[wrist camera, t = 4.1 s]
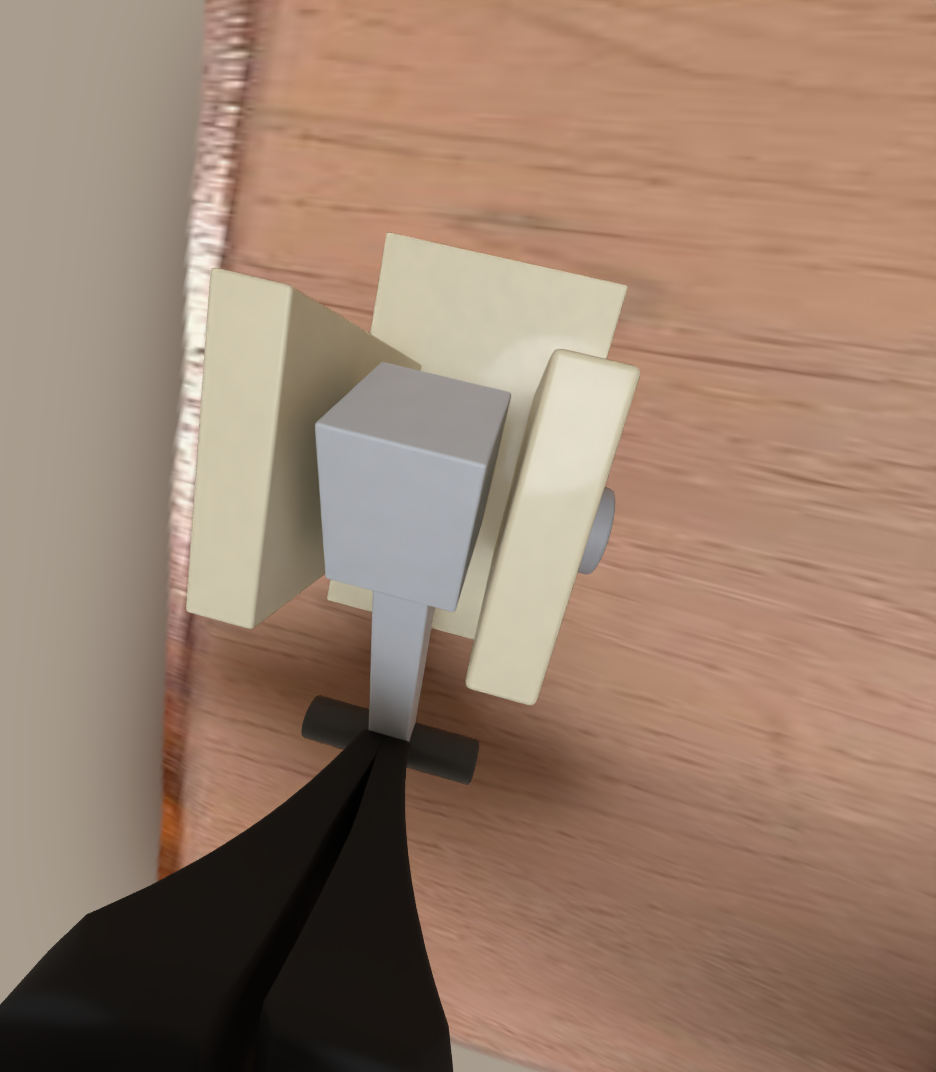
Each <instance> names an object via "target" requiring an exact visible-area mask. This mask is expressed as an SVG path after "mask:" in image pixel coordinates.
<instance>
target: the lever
mask: <svg viewBox="0 0 936 1072" xmlns="http://www.w3.org/2000/svg"><path fill="white" fill-rule="evenodd" d="M510 399H511V393H510V392H507V391H502V390H498V389H494V388H490V387H486V386H481V385H477V384H473V383H469V382H465V381H461V380H456V379H452V378H448V377H444V376H440V375H435V374H431V373H427V372H423V371H419V370H415V369H410V368H406V367H402V366H398V365H394V364H389V363H385V362H381V363H380V364H379V365H378V366H377V367H376V368H374V369H373V370H372V371H371V372H370V373H369V374H368V375H367V376H366V377H365V378H364V379H363V380H361V381H360V382H359V383H358V384H357V385H356V386H355V387H354V388H353V389H352V390H351V391H349V392H348V393H347V394H346V395H345V396H344V397H343V398H342V399H341V400H340V401H339V402H338V403H336V404H335V405H334V406H333V407H332V408H331V409H330V410H329V411H328V412H327V413H326V414H325V415H323V416H322V417H321V418H320V419H319V420H318V421H317V422H316V424H315V435H316V449H317V463H318V477H319V492H320V506H321V520H322V534H323V548H324V562H325V576H326V578H327V579H331V580H334V581H338V582H342V583H346V584H349V585H353V586H357V587H360V588H364V589H368V590H372V591H373V600H372V635H371V669H370V704H369V709H367V708H363V707H360V706H356V705H353V704H349V703H346V702H342V701H339V700H335V699H332V698H328V697H324V696H321V695H319V696H316V697H315V698H314V700H313V701H312V703H311V704H310V706H309V708H308V710H307V712H306V715H305V718H304V721H303V725H302V736H303V737H304V738H307V739H310V740H314V741H317V742H321V743H324V744H327V745H331V746H334V747H338V748H341V749H345V748H346V747H347V746H348V745H349V744H350V743H351V741H352V740H353V739H354V738H355V737H356V736H357V735H358V734H359V732H360V731H362V730H364V729H368V730H370V731H374V732H377V733H381V734H384V735H386V736H387V735H388V736H391V737H395V738H398V739H402V740H406V741H409V743H410V745H411V749H410V753H409V758H408V762H407V768H410V769H414V770H417V771H421V772H424V773H428V774H431V775H435V776H438V777H441V778H445V779H448V780H452V781H455V782H459V783H462V784H466V785H469V784H470V783H471V781H472V777H473V774H474V770H475V766H476V761H477V757H478V751H479V741H478V740H476V739H473V738H469V737H466V736H462V735H459V734H455V733H452V732H448V731H444V730H441V729H437V728H434V727H430V726H427V725H423V724H420V723H416V717H417V711H418V705H419V699H420V693H421V687H422V681H423V675H424V669H425V663H426V657H427V652H428V646H429V640H430V634H431V628H432V622H433V616H434V610H435V608H439V609H442V610H446V611H450V612H454V611H455V610H456V608H457V605H458V601H459V598H460V595H461V591H462V588H463V585H464V581H465V578H466V575H467V571H468V568H469V565H470V561H471V558H472V555H473V551H474V548H475V545H476V541H477V538H478V535H479V531H480V528H481V525H482V520H483V516H484V512H485V507H486V503H487V499H488V494H489V490H490V486H491V481H492V477H493V473H494V468H495V464H496V460H497V455H498V451H499V447H500V442H501V438H502V434H503V429H504V425H505V421H506V416H507V412H508V408H509V403H510Z"/></svg>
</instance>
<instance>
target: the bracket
mask: <svg viewBox="0 0 936 1072" xmlns="http://www.w3.org/2000/svg"><path fill="white" fill-rule="evenodd" d="M626 291H627V285H623V284H619V283H614V282H610V281H605V280H601V279H596V278H592V277H587V276H583V275H578V274H574V273H569V272H565V271H560V270H556V269H551V268H547V267H542V266H538V265H533V264H529V263H524V262H520V261H515V260H511V259H506V258H502V257H497V256H493V255H488V254H484V253H479V252H475V251H470V250H466V249H461V248H457V247H452V246H448V245H443V244H439V243H434V242H430V241H425V240H421V239H416V238H412V237H408V236H403V235H399V234H394V233H390V232H388V233H387V234H386V240H385V246H384V252H383V258H382V264H381V271H380V277H379V283H378V289H377V295H376V301H375V308H374V314H373V320H372V326H371V332H370V333H369V332H367V331H365V330H364V329H362V328H360V327H359V326H357V325H355V324H354V323H352V322H350V321H349V320H347V319H346V318H344V317H342V316H341V315H339V314H337V313H336V312H334V311H332V310H331V309H329V308H327V307H326V306H324V305H322V304H321V303H319V302H317V301H316V300H314V299H313V298H311V297H309V296H308V295H306V294H304V293H303V292H301V291H299V290H298V289H296V288H294V287H293V286H291V285H289V284H284V283H280V282H276V281H271V280H267V279H263V278H258V277H254V276H250V275H245V274H241V273H237V272H233V271H228V270H224V269H220V268H212V269H211V272H210V285H209V299H208V313H207V327H206V341H205V354H204V368H203V382H202V396H201V410H200V424H199V437H198V451H197V465H196V479H195V493H194V506H193V520H192V534H191V548H190V562H189V575H188V589H187V603H186V610H187V611H188V612H190V613H193V614H197V615H201V616H204V617H208V618H211V619H215V620H219V621H222V622H226V623H229V624H233V625H237V626H240V627H244V628H247V629H253V628H254V627H256V626H257V625H258V624H260V623H261V622H262V621H264V620H265V619H266V618H267V617H269V616H270V615H271V614H273V613H274V612H275V611H277V610H278V609H279V608H281V607H282V606H283V605H285V604H286V603H287V602H289V601H290V600H291V599H293V598H294V597H295V596H297V595H298V594H299V593H301V592H302V591H303V590H305V589H306V588H307V587H308V586H310V585H311V584H312V583H314V582H315V581H316V580H318V579H319V578H320V577H322V576H323V575H324V574H325V562H324V548H323V534H322V520H321V506H320V492H319V477H318V463H317V449H316V435H315V424H316V422H317V421H318V420H319V419H320V418H321V417H322V416H323V415H325V414H326V413H327V412H328V411H329V410H330V409H331V408H332V407H333V406H334V405H335V404H336V403H338V402H339V401H340V400H341V399H342V398H343V397H344V396H345V395H346V394H347V393H348V392H349V391H351V390H352V389H353V388H354V387H355V386H356V385H357V384H358V383H359V382H360V381H361V380H363V379H364V378H365V377H366V376H367V375H368V374H369V373H370V372H371V371H372V370H373V369H374V368H376V367H377V366H378V365H379V364H380V363H381V362H385V363H389V364H394V365H398V366H402V367H406V368H410V369H415V370H419V371H423V372H427V373H431V374H435V375H440V376H444V377H448V378H452V379H456V380H461V381H465V382H469V383H473V384H477V385H481V386H486V387H490V388H494V389H498V390H502V391H507V392H510V393H511V399H510V403H509V408H508V412H507V416H506V421H505V425H504V429H503V434H502V438H501V442H500V447H499V451H498V455H497V460H496V464H495V468H494V473H493V477H492V481H491V486H490V490H489V494H488V499H487V503H486V507H485V512H484V516H483V520H482V525H481V528H480V531H479V535H478V538H477V541H476V545H475V548H474V551H473V555H472V558H471V561H470V565H469V568H468V571H467V575H466V578H465V581H464V585H463V588H462V591H461V595H460V598H459V601H458V605H457V608H456V610H455V611H454V612H450V611H446V610H442V609H439V608H435V610H434V616H433V622H432V629H436V630H440V631H443V632H447V633H451V634H455V635H458V636H462V637H466V638H469V639H473V640H474V642H473V647H472V651H471V656H470V660H469V665H468V669H467V674H466V678H465V682H466V686H467V687H468V688H469V689H472V690H476V691H479V692H483V693H487V694H490V695H494V696H497V697H501V698H505V699H508V700H512V701H515V702H519V703H523V704H526V705H534V703H535V702H536V701H537V699H538V696H539V693H540V690H541V686H542V683H543V680H544V677H545V674H546V671H547V667H548V664H549V661H550V658H551V655H552V652H553V649H554V645H555V642H556V639H557V636H558V633H559V630H560V627H561V623H562V620H563V617H564V614H565V611H566V608H567V604H568V601H569V598H570V595H571V592H572V589H573V586H574V582H575V579H576V576H577V573H578V572H579V573H582V574H590V573H592V572H593V571H594V570H595V568H596V567H597V565H598V564H599V562H600V560H601V558H602V556H603V553H604V551H605V548H606V546H607V543H608V540H609V536H610V533H611V529H612V524H613V519H614V512H615V495H614V492H613V491H612V490H611V489H610V488H606V487H605V485H606V482H607V479H608V475H609V472H610V469H611V466H612V463H613V460H614V456H615V453H616V450H617V447H618V444H619V441H620V438H621V434H622V431H623V428H624V425H625V422H626V419H627V416H628V412H629V409H630V406H631V403H632V400H633V397H634V393H635V390H636V387H637V384H638V381H639V378H640V370H639V369H638V368H637V367H636V366H634V365H630V364H626V363H622V362H617V361H613V360H609V359H607V356H608V352H609V349H610V346H611V342H612V339H613V335H614V332H615V329H616V325H617V322H618V319H619V315H620V312H621V308H622V305H623V302H624V298H625V295H626ZM327 600H329V601H333V602H336V603H340V604H344V605H348V606H351V607H355V608H359V609H362V610H366V611H370V612H372V600H373V591H372V590H368V589H364V588H360V587H357V586H353V585H349V584H346V583H342V582H338V581H334V580H331V579H330V585H329V591H328V597H327Z"/></svg>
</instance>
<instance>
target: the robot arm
mask: <svg viewBox="0 0 936 1072" xmlns="http://www.w3.org/2000/svg"><path fill="white" fill-rule="evenodd" d="M410 749H411V745H410V743H409V741H406V740H402V739H398V738H395V737H391V736H388V735H387V736H386V735H384V734H381V733H377V732H374V731H370V730H368V729H364V730H362V731H360V732H359V734H358V735H357V736H356V737H355V738H354V739H353V740H352V741H351V743H350V744H349V745H348V746H347V747H346V748H345V749H344V750H343V751H342V752H341V753H340V754H339V755H338V756H337V757H336V758H335V759H334V760H333V761H332V762H331V763H330V764H328V765H327V766H326V767H325V768H324V769H323V770H322V771H321V772H320V773H319V774H318V775H316V776H315V777H314V778H313V779H312V780H311V781H310V782H309V783H307V784H306V785H305V786H304V787H303V788H301V789H300V790H299V791H298V792H297V793H295V794H294V795H293V796H292V797H290V798H289V799H288V800H287V801H286V802H284V803H283V804H282V805H280V806H279V807H278V808H276V809H275V810H274V811H272V812H271V813H270V814H268V815H267V816H266V817H264V818H263V819H261V820H260V821H259V822H257V823H256V824H254V825H253V826H251V827H250V828H249V829H247V830H246V831H244V832H243V833H241V834H239V835H238V836H236V837H235V838H233V839H232V840H230V841H228V842H227V843H225V844H224V845H222V846H221V847H219V848H217V849H216V850H214V851H212V852H211V853H209V854H207V855H206V856H204V857H202V858H201V859H199V860H197V861H195V862H193V863H191V864H189V865H188V866H186V867H184V868H182V869H180V870H178V871H176V872H175V873H173V874H171V875H169V876H167V877H165V878H164V879H162V880H160V881H158V882H156V883H154V884H152V885H150V886H148V887H146V888H144V889H142V890H139V891H137V892H136V893H133V894H131V895H129V896H126V897H124V898H122V899H120V900H118V901H115V902H113V903H111V904H109V905H107V906H105V907H102V908H100V909H98V910H96V911H93V912H91V913H89V914H87V915H85V917H83V918H82V919H81V920H80V921H79V922H78V923H77V924H76V925H75V926H74V927H73V928H72V929H71V930H70V931H69V932H68V933H67V934H66V935H64V936H63V938H61V939H60V940H59V941H58V942H57V943H56V944H55V945H54V946H53V947H52V948H51V949H50V950H49V951H48V952H47V953H46V955H44V956H43V958H42V959H41V960H40V961H39V962H38V963H37V964H36V965H35V967H34V968H33V969H32V970H31V971H30V972H29V973H28V974H27V975H26V977H25V978H24V979H23V980H22V981H21V982H20V983H19V984H18V985H17V987H16V988H15V989H14V990H13V991H12V992H11V993H10V994H9V996H8V997H7V998H6V999H5V1000H4V1001H3V1002H2V1003H1V1004H0V1072H453V1064H452V1054H451V1045H450V1035H449V1026H448V1023H447V1020H446V1017H445V1014H444V1011H443V1007H442V1004H441V1001H440V998H439V995H438V991H437V988H436V985H435V981H434V978H433V974H432V971H431V967H430V963H429V960H428V956H427V952H426V948H425V944H424V939H423V935H422V931H421V926H420V922H419V917H418V913H417V908H416V903H415V897H414V891H413V886H412V879H411V872H410V865H409V857H408V847H407V836H406V820H405V780H406V768H407V762H408V758H409V753H410Z"/></svg>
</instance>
